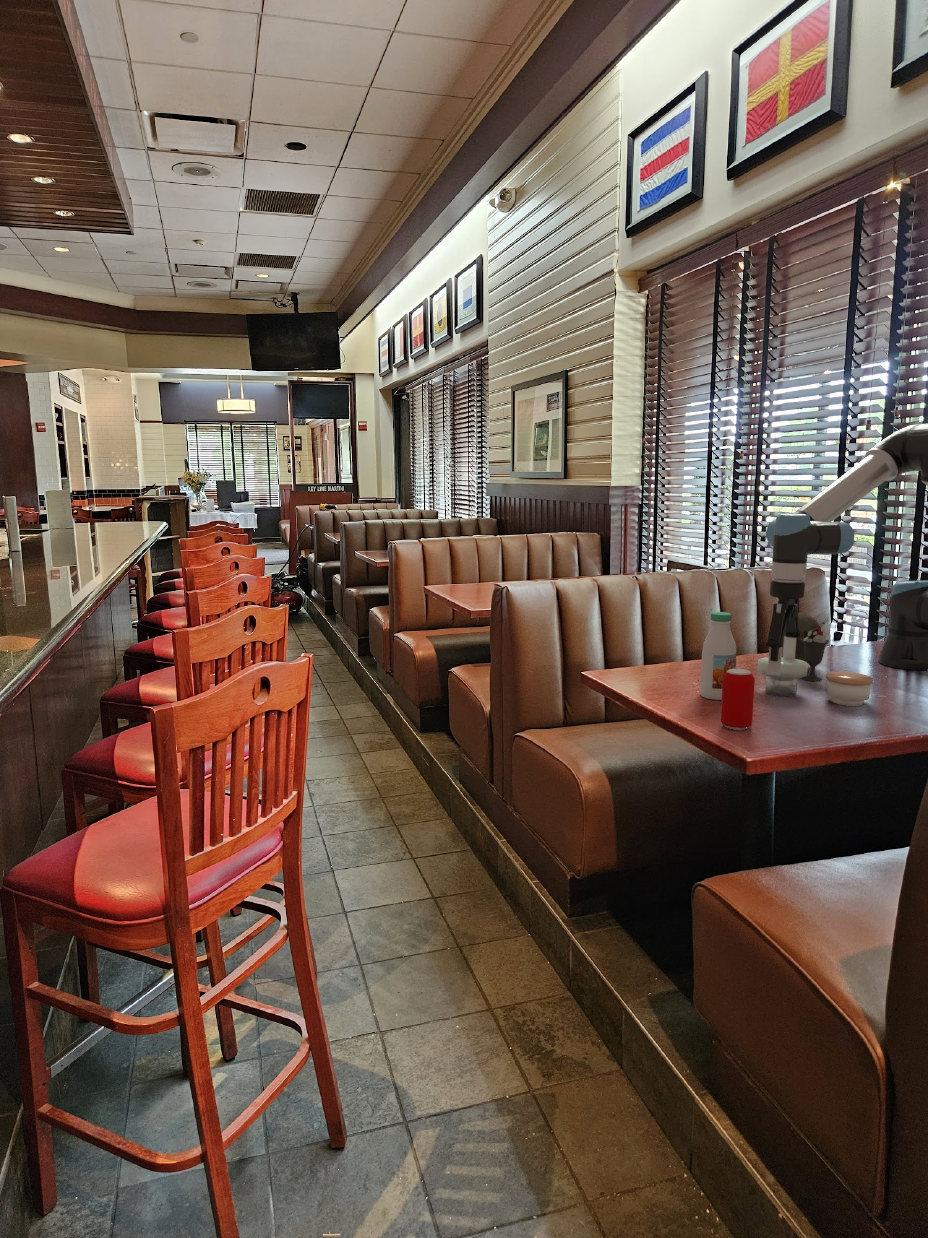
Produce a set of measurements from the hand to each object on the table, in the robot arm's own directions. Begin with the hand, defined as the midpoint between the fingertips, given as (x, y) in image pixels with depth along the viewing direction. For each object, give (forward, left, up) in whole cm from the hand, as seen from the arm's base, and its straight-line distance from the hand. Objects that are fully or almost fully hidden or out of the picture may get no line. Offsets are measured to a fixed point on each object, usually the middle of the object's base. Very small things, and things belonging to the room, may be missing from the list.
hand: (781, 669), depth 191 cm
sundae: (-16, -9, -6) cm, 19 cm away
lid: (0, 0, -1) cm, 1 cm away
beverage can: (+25, +21, -6) cm, 33 cm away
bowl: (-10, +11, -6) cm, 16 cm away
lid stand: (0, 0, -6) cm, 6 cm away
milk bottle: (+16, -1, -6) cm, 17 cm away
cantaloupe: (-19, -21, -6) cm, 29 cm away
